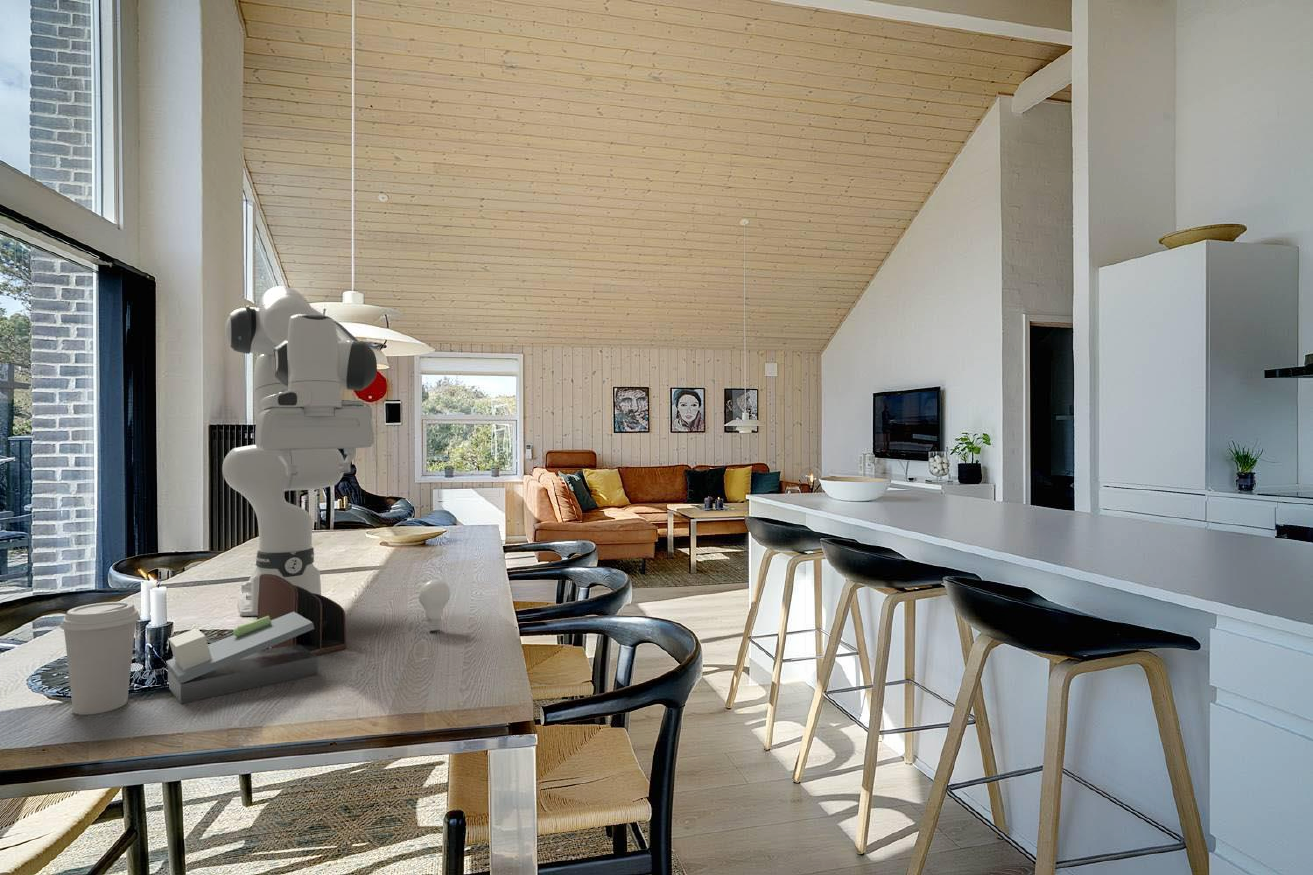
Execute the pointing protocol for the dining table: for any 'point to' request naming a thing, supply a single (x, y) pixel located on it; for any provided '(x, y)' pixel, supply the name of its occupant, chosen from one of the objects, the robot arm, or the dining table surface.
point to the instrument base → (248, 673)
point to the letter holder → (303, 614)
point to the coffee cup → (99, 655)
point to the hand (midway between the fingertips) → (319, 473)
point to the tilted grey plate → (231, 645)
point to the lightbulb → (434, 601)
